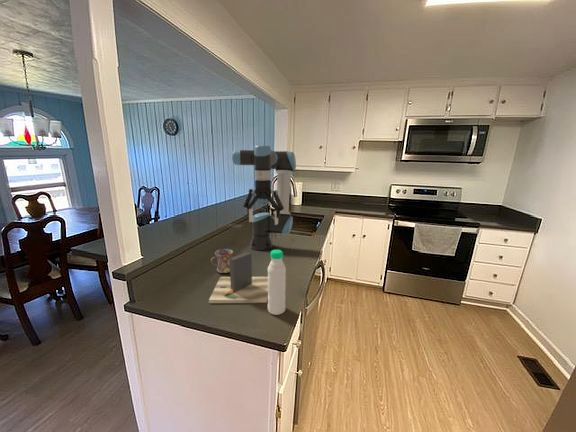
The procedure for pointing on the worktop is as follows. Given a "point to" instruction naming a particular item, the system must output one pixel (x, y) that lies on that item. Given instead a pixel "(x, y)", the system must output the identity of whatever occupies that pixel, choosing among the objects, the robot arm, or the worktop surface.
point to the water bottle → (276, 283)
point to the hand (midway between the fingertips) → (263, 222)
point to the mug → (223, 260)
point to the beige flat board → (241, 292)
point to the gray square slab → (240, 272)
